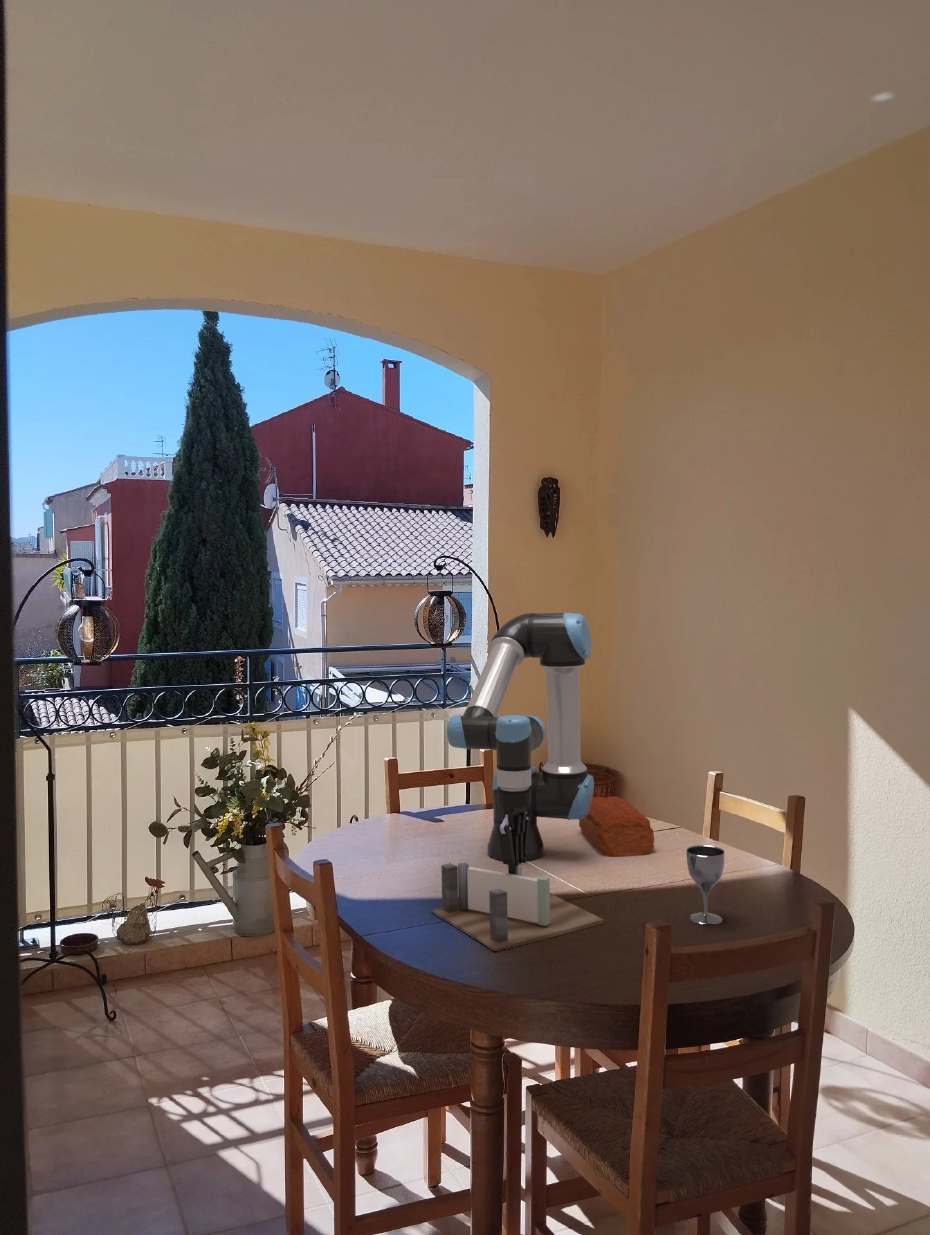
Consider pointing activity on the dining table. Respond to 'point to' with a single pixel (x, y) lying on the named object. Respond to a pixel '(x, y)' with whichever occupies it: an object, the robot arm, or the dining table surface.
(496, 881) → the gate
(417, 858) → the dining table surface
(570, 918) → the gate frame
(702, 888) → the wine glass
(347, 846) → the dining table surface
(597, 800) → the bread
